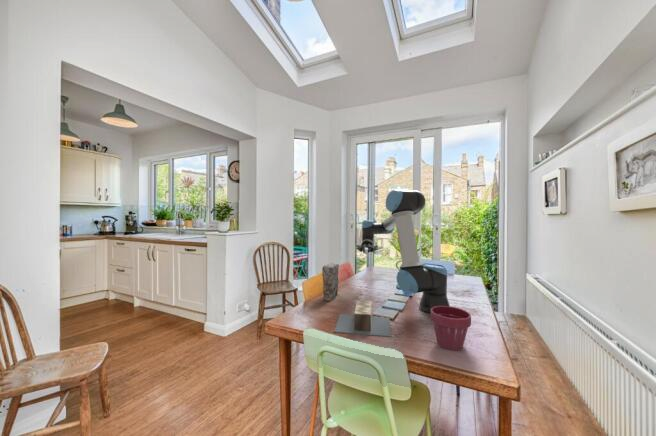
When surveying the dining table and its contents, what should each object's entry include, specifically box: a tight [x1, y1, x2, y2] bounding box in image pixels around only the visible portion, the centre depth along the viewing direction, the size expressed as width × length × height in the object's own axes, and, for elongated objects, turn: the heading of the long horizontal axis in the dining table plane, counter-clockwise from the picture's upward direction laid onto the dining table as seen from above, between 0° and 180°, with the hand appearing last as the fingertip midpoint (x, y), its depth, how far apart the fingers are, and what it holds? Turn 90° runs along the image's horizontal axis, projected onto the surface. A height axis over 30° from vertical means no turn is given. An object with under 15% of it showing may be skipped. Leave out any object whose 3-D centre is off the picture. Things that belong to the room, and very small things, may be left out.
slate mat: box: [333, 313, 393, 338], centre depth 121 cm, size 24×20×1 cm
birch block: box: [353, 299, 373, 331], centre depth 123 cm, size 7×7×18 cm
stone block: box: [321, 262, 340, 302], centre depth 159 cm, size 13×7×20 cm, turn 164°
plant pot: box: [430, 306, 472, 351], centre depth 103 cm, size 14×14×13 cm
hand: (366, 251), depth 145 cm, fingers closed
